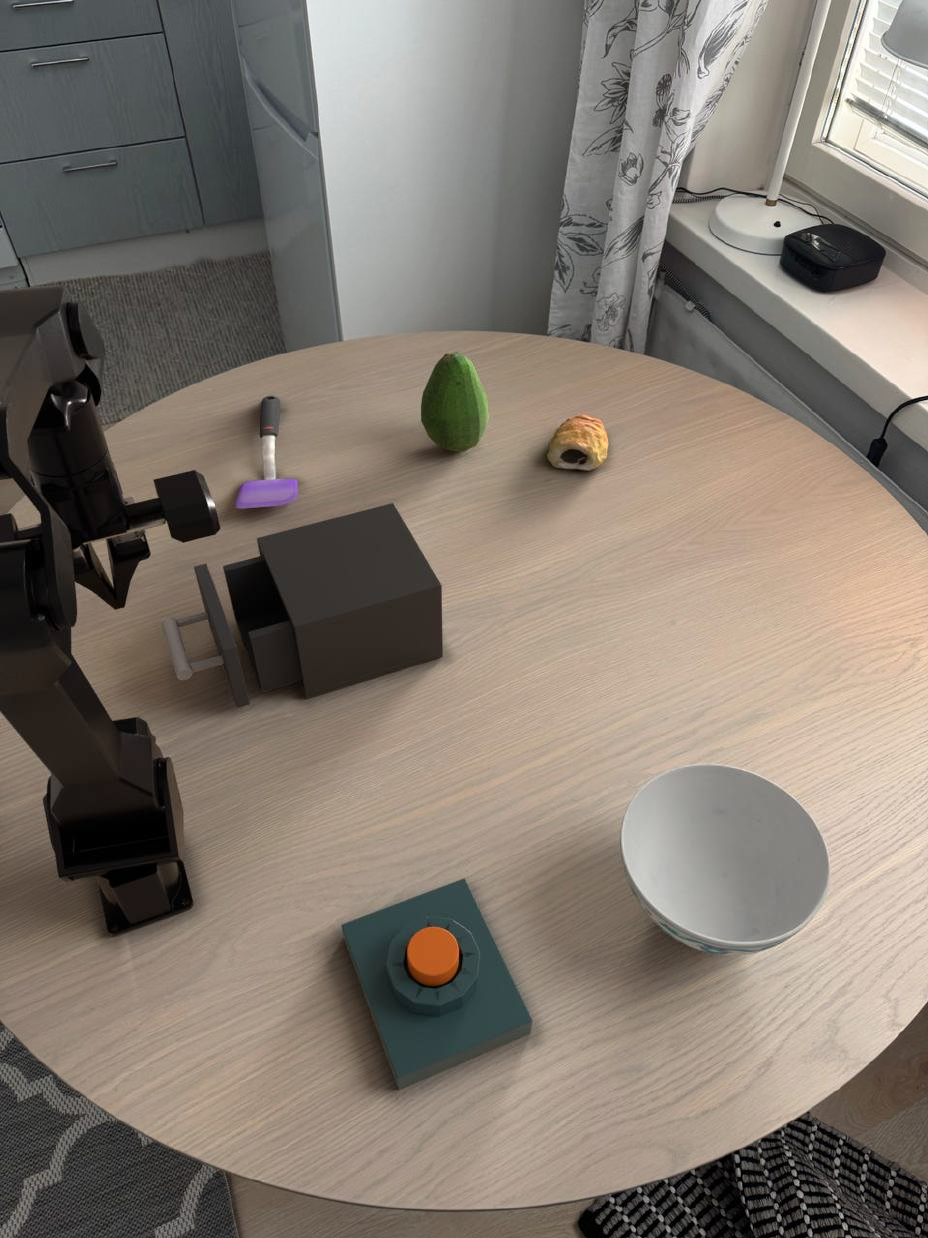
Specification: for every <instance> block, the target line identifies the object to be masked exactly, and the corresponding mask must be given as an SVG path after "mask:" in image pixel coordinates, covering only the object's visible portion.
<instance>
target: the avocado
mask: <svg viewBox="0 0 928 1238" xmlns="http://www.w3.org/2000/svg"><path fill="white" fill-rule="evenodd" d="M431 371H432V372H431V373H430V376H429V378H428V381H427V382H426V385H425V387H424V389H423V392H422V396H421V402H420V421H421V423H422V426H423V428H424V430H425V432H426V435H427V437H428V438H429V439H430V440H431V441H432V442H433V443H434V444H436V445H438V446H439V447H441V448H443V449H445V450H448V451H451V452H456V453H457V452H458V453H459V452H462V453H464V452H466V451H468V450H471V449H472V448H474V447H476V446H477V445H478V443H480V441H481V440H482V438H483V437H484V435H485V433H486V429H487V426H488V424H489V423H488V422H489V419H490V417H489V403H488V402H489V400H488V397H487V393H486V391H485V389H484V386H483V383H482V381H481V380H480V379H481V378H480V377H479V375H478V373H477V371H476V369H475V366H474V364H473V362H472V361H471V360H470V358H468V357H466V356H465V355H464V354H463V353H461V352H459V351H455V352H447V353H444V355H443V356H442V357H441V358H439V360H438V361H437V362H436V364H435V366H434V367H433V370H431Z"/></svg>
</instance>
